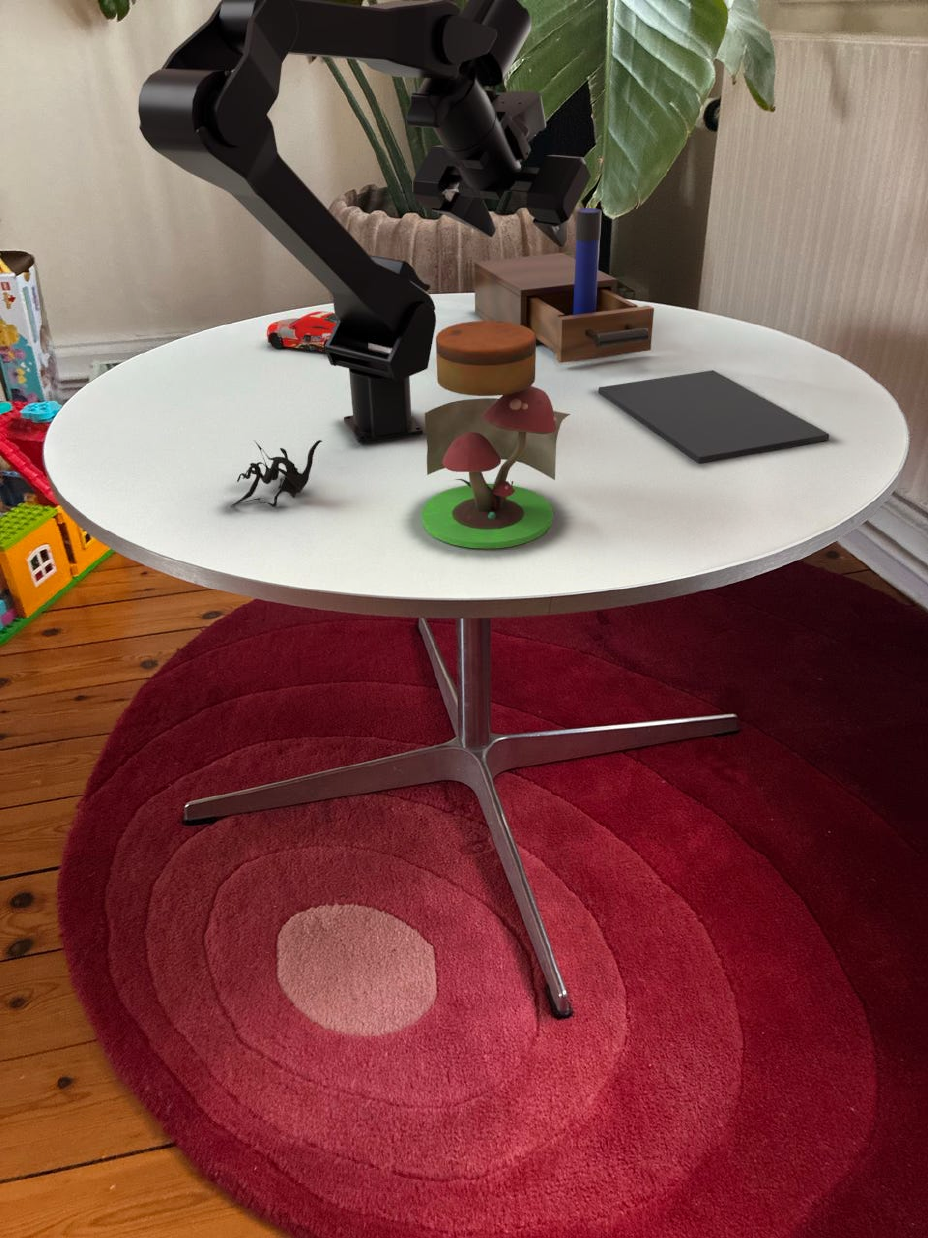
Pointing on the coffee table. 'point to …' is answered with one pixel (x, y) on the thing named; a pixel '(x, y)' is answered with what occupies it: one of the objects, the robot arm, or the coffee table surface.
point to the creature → (292, 477)
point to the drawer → (589, 325)
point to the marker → (586, 260)
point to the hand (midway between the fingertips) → (527, 238)
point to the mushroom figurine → (489, 436)
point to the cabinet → (524, 284)
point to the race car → (303, 331)
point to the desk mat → (711, 416)
